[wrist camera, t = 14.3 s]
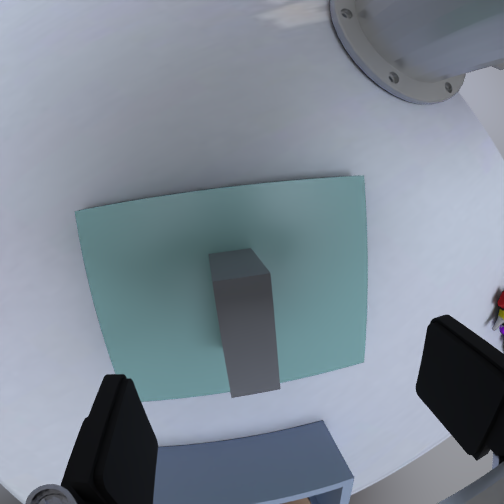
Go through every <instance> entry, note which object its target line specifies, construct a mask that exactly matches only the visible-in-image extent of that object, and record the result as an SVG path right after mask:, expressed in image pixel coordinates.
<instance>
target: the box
mask: <svg viewBox="0 0 504 504" xmlns="http://www.w3.org/2000/svg"><path fill="white" fill-rule="evenodd" d="M353 482H354V476H353V475H352V473H351V471H350V469H349V467H348V465H347V464H346V462H345V460H344V458H343V456H342V455H341V453H340V451H339V449H338V447H337V445H336V444H335V442H334V440H333V438H332V436H331V434H330V432H329V431H328V429H327V427H326V425H325V423H324V421H323V420H322V421H319V422H315V423H311V424H307V425H303V426H299V427H295V428H290V429H286V430H281V431H277V432H272V433H267V434H262V435H256V436H251V437H245V438H239V439H232V440H226V441H219V442H211V443H202V444H193V445H182V446H170V447H158V454H157V463H156V474H155V485H154V497H153V504H282V503H286V502H290V501H295V500H299V499H303V498H307V497H309V499H310V501H311V504H348V503H349V500H350V495H351V491H352V486H353Z"/></svg>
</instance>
